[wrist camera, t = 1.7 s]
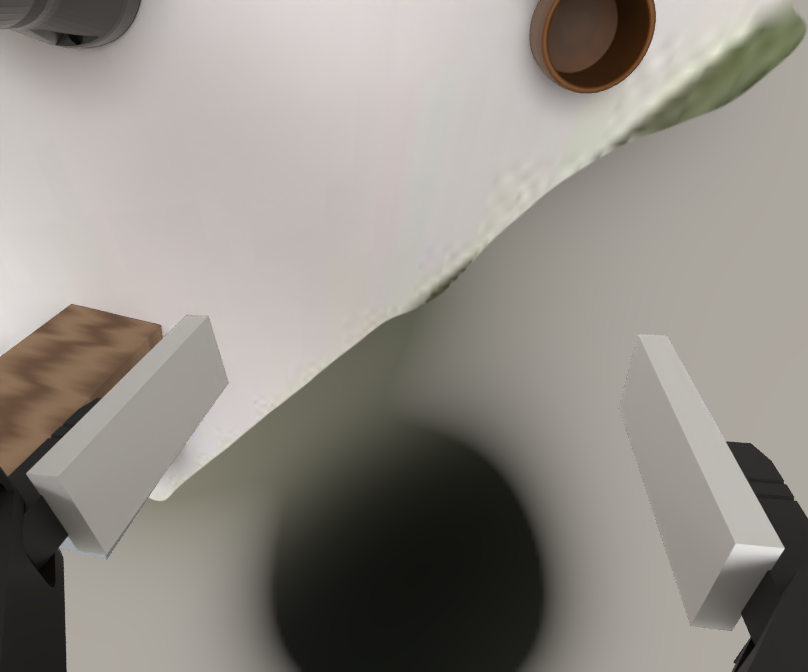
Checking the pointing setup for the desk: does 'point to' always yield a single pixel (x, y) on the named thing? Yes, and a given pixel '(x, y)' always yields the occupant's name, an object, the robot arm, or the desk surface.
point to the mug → (591, 40)
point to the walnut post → (64, 374)
